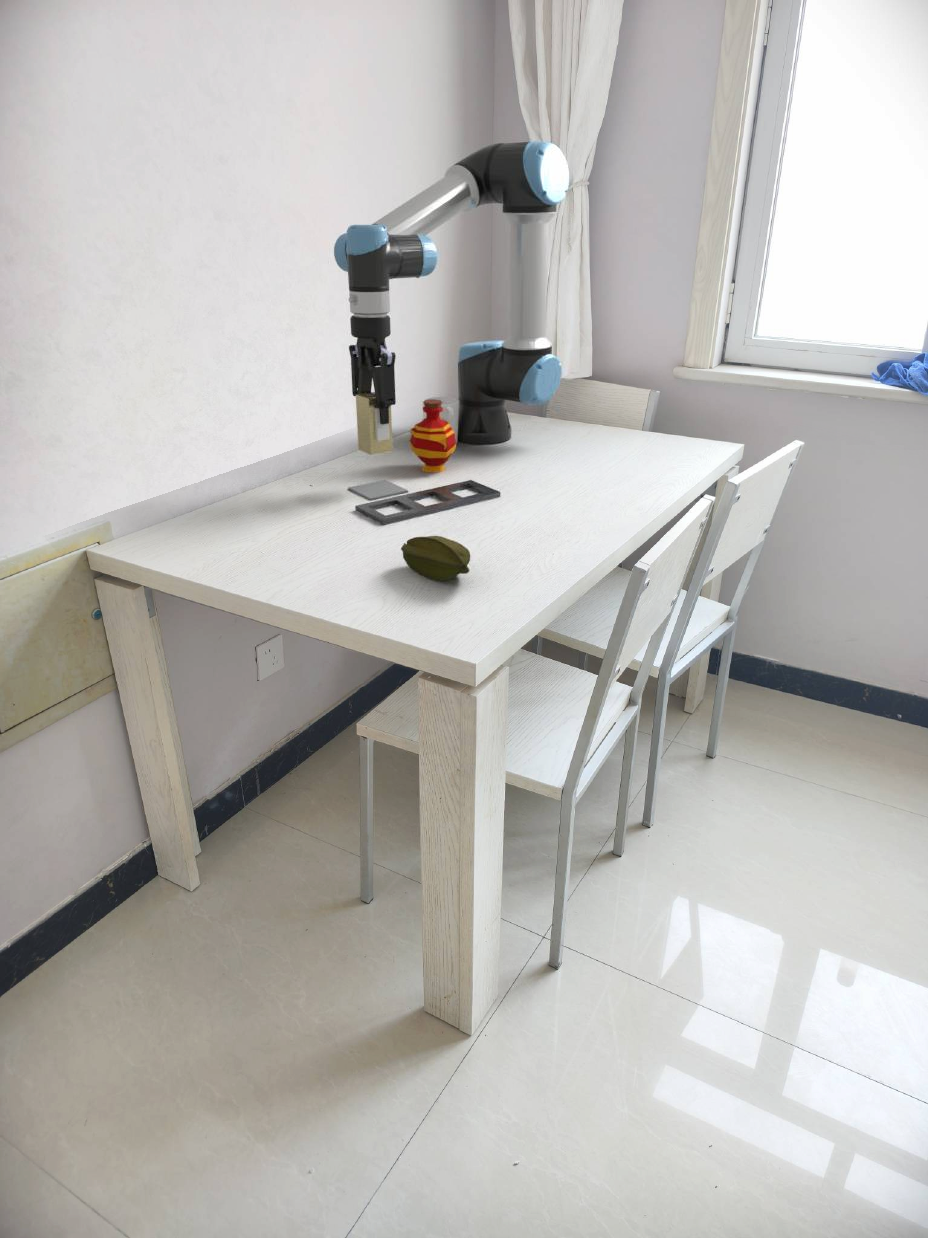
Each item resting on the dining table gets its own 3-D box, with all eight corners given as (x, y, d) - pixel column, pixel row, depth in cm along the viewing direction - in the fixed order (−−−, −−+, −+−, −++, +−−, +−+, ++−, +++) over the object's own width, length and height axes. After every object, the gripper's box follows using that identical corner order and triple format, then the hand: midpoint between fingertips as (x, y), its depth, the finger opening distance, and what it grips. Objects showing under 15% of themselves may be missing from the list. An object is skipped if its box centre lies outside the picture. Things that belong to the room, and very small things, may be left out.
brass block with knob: (358, 449, 172) (355, 392, 167) (379, 445, 175) (377, 389, 170) (371, 454, 169) (368, 397, 164) (392, 450, 172) (390, 394, 166)
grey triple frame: (355, 510, 165) (355, 505, 164) (470, 484, 180) (470, 479, 179) (382, 525, 158) (382, 519, 157) (500, 496, 173) (500, 491, 172)
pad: (348, 489, 177) (348, 487, 177) (385, 481, 182) (385, 479, 181) (370, 500, 170) (370, 498, 170) (408, 492, 175) (408, 490, 175)
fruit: (471, 562, 142) (471, 524, 139) (469, 592, 131) (469, 552, 128) (403, 561, 142) (402, 524, 140) (396, 591, 132) (394, 551, 129)
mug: (417, 440, 212) (416, 398, 207) (450, 437, 215) (450, 395, 210) (434, 451, 203) (434, 408, 198) (468, 447, 206) (469, 404, 201)
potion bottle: (458, 463, 194) (458, 396, 187) (453, 476, 185) (453, 407, 178) (413, 461, 195) (411, 395, 188) (406, 475, 186) (404, 406, 179)
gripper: (329, 311, 165) (336, 430, 175) (378, 320, 152) (382, 449, 162) (362, 308, 169) (368, 425, 179) (413, 318, 156) (415, 443, 166)
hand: (375, 436), depth 171 cm, fingers closed on brass block with knob, 5 cm apart
